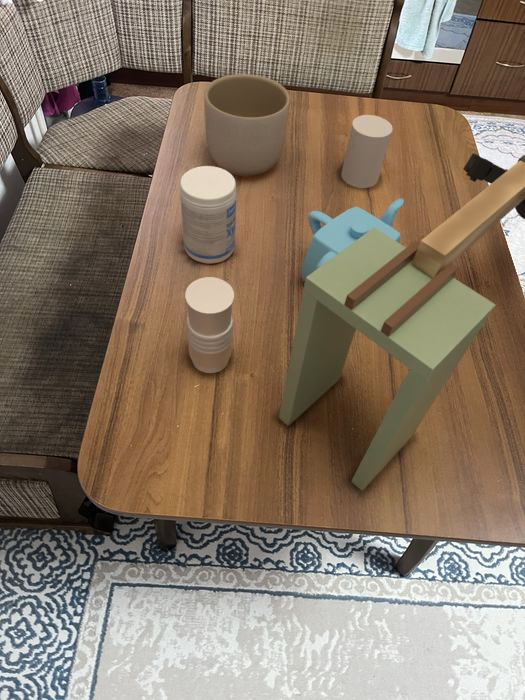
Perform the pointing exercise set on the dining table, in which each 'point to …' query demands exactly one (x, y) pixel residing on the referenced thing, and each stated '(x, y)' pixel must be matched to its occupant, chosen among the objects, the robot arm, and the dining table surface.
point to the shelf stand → (381, 334)
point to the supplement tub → (208, 213)
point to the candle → (209, 323)
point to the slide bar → (471, 221)
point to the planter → (245, 122)
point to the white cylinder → (366, 150)
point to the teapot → (344, 233)
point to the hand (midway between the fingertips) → (519, 191)
